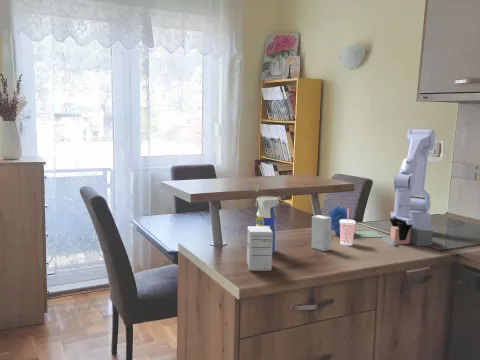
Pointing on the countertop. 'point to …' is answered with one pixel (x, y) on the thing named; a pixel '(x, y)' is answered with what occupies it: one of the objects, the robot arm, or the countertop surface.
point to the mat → (367, 234)
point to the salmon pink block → (395, 235)
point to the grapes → (337, 217)
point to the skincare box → (321, 232)
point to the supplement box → (259, 248)
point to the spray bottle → (267, 214)
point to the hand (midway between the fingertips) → (399, 238)
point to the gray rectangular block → (420, 235)
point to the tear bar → (388, 240)
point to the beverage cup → (347, 230)
